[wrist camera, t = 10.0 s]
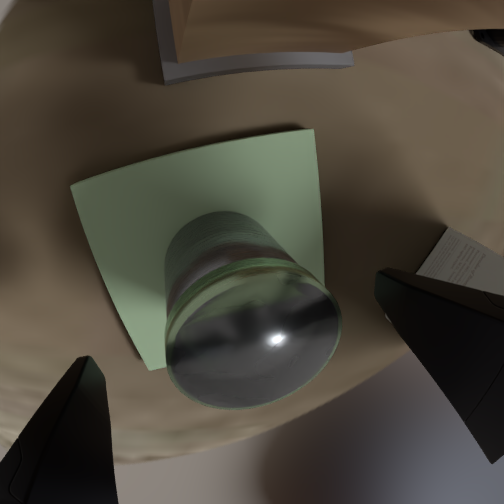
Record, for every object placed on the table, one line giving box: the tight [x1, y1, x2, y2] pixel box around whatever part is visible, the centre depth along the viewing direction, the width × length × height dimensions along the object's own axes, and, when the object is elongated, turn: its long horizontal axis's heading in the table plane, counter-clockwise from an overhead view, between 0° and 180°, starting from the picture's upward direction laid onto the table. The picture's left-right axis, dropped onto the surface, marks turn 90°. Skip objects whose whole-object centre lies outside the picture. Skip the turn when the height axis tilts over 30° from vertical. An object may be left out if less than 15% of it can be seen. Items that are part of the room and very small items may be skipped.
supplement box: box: [385, 227, 504, 322], centre depth 12 cm, size 7×7×13 cm
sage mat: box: [70, 129, 325, 371], centre depth 11 cm, size 9×9×1 cm
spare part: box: [164, 211, 342, 410], centre depth 9 cm, size 5×5×5 cm
